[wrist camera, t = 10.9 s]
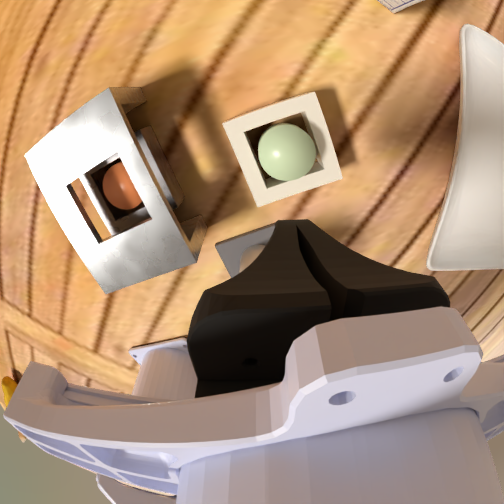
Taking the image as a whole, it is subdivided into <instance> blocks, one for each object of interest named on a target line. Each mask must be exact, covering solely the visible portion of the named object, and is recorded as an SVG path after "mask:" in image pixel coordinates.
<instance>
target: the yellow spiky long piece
mask: <svg viewBox="0 0 504 504" xmlns="http://www.w3.org/2000/svg"><path fill="white" fill-rule="evenodd" d="M17 385H18V384H17V383H16V382H15V381H14V380H13V379H11V378H10V377H8V376H6V377H4V378H3V379H2V389H3V392H4V401H5V404H6V408H7V406H8V404H9V402H10V399H11V397H12V395H13V393H14V391H15V389H16V387H17ZM18 433H19V437H20V439H21V440H22V442H24V441H25V440H26V437H25V436H24V435H23V434H22V433H21V432H19V431H18Z"/></svg>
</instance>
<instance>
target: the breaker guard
mask: <svg viewBox="0 0 504 504" xmlns="http://www.w3.org/2000/svg"><path fill="white" fill-rule="evenodd" d="M146 101H147V100H146V98H145V96H144V94H143V92H142V89H141V87H109V88H107V89H106V90H104V91H103V92H101V93H100V94H98V95H97V96H96V97H94V98H93V99H91V100H90V101H88V102H87V103H86V104H84V105H83V106H82V107H80V108H79V109H78V110H76V111H75V112H74V113H72V114H71V115H70V116H69V117H67V118H66V119H65V120H64V121H62V122H61V123H60V124H59V125H57V126H56V127H55V128H54V129H53V130H52V131H50V132H49V133H48V134H47V135H46V136H45V137H43V138H42V139H41V140H40V141H39V142H38V143H37V144H36V145H35V146H34V147H33V148H31V149H30V150H29V151H28V152H27V153H26V154H25V157H26V159H27V162H28V164H29V166H30V168H31V170H32V172H33V174H34V176H35V179H36V181H37V183H38V185H39V187H40V189H41V190H42V192H43V194H44V196H45V198H46V200H47V202H48V204H49V206H50V207H51V209H52V211H53V213H54V215H55V216H56V218H57V220H58V222H59V223H60V225H61V227H62V229H63V230H64V232H65V234H66V235H67V237H68V239H69V240H70V242H71V243H72V245H73V247H74V248H75V250H76V251H77V253H78V254H79V256H80V257H81V259H82V261H83V262H84V264H85V265H86V267H87V268H88V270H89V271H90V272H91V274H92V275H93V277H94V278H95V280H96V281H97V283H98V284H99V285H100V287H101V288H102V290H103V291H104V292H105V294H107V293H110V292H113V291H116V290H119V289H122V288H125V287H127V286H130V285H133V284H136V283H139V282H142V281H145V280H148V279H150V278H153V277H156V276H159V275H162V274H165V273H168V272H171V271H174V270H176V269H179V268H182V267H185V266H188V265H191V264H194V263H197V260H198V256H199V253H200V250H201V247H202V244H203V241H204V237H205V234H206V231H207V226H206V224H205V222H204V220H203V218H202V216H201V215H199V216H196V217H194V218H191V219H189V220H186V221H184V222H181V223H179V221H178V219H177V218H176V216H175V214H174V212H173V210H174V209H176V208H178V207H179V205H180V204H181V202H182V201H183V199H184V197H185V196H184V194H183V192H182V190H181V188H180V186H179V184H178V182H177V180H176V177H175V175H174V173H173V171H172V169H171V167H170V165H169V163H168V161H167V159H166V157H165V155H164V153H163V151H162V149H161V146H160V144H159V142H158V140H157V138H156V136H155V134H154V132H153V129H152V127H151V126H148V127H145V128H142V129H139V130H138V131H136V132H133V129H132V127H131V125H130V123H129V121H128V119H127V116H126V114H125V113H127V112H129V111H131V110H132V109H134V108H136V107H137V106H139V105H141V104H143V103H145V102H146ZM118 158H121V160H122V162H123V164H124V166H125V168H126V170H127V172H128V174H129V176H130V178H131V180H132V182H133V184H134V186H135V188H136V190H137V192H138V194H139V196H140V197H141V199H142V201H143V202H141V203H140V204H139V205H138V206H136V207H135V208H132V209H120V208H117V207H115V206H114V205H112V204H111V203H110V202H109V201H108V199H107V198H106V196H105V194H104V191H103V179H104V176H105V174H106V170H105V168H104V167H105V166H106V165H108V164H110V163H111V162H113V161H115V160H116V159H118ZM78 177H80V179H81V181H82V183H83V185H84V187H85V189H86V191H87V192H88V194H89V196H90V198H91V200H92V202H93V204H94V205H95V207H96V209H97V211H98V212H99V214H100V216H101V218H102V219H103V221H104V223H105V225H106V226H107V228H108V230H109V231H110V233H111V235H112V236H110V237H108V238H106V239H103V240H102V238H101V237H100V235H99V234H98V232H97V230H96V229H95V227H94V225H93V223H92V222H91V220H90V218H89V217H88V215H87V213H86V211H85V209H84V208H83V206H82V204H81V202H80V200H79V199H78V197H77V195H76V193H75V191H74V189H73V187H72V185H71V182H72V181H74V180H75V179H76V178H78Z"/></svg>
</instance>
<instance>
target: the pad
mask: <svg viewBox="0 0 504 504" xmlns="http://www.w3.org/2000/svg"><path fill="white" fill-rule="evenodd" d="M274 228H275V223H274V224H271V225H268V226H265V227H262V228H259V229H256V230H253V231H250V232H248V233H245V234H242V235H239V236H236V237H233V238H230V239H227V240H225V241H222V242H219V243H216V244H215V247H216V249H217V251H218V253H219V255H220V257H221V259H222V261H223V263H224V265H225V267H226V269H227V270H228V272H229V274H230V276H231V278H232V277H234V276H236V275H237V274H239V271H240V259H241V255H242V253H243V252H244V251H245V250H246V249H247V248H248V247H250V246H253V245H266V244H267V243H268V241H269V239H270V237H271V236H272V234H273V231H274Z"/></svg>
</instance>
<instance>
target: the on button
mask: <svg viewBox="0 0 504 504" xmlns="http://www.w3.org/2000/svg"><path fill="white" fill-rule="evenodd" d="M258 155H259V161H260V164H261V166H262V167H263V169H264V170H265V171H266V172H267V173H268V174H269V175H270V176H272V177H273V178H275V179H278V180H282V181H292V180H296V179H299V178H301V177H303V176H304V175H305V174H307V173H308V172H309V171H310V169H311V168H312V166H313V164H314V162H315V157H316V149H315V145H314V142H313V140H312V139H311V137H310V136H309V135H308V134H307V133H306V132H305V131H303V130H302V129H301V128H299V127H298V126H296V125H293V124H290V123H277V124H274V125H272V126H270V127H269V128H267V129H266V130H265V131H264V132H263V134H262V135H261V137H260V139H259V143H258Z"/></svg>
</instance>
